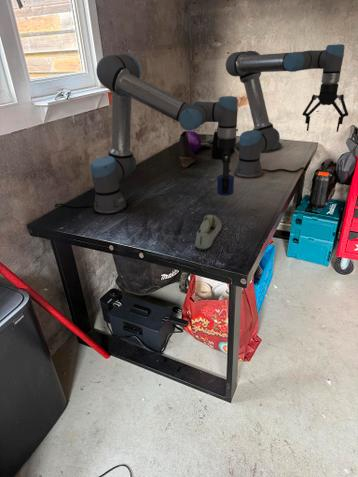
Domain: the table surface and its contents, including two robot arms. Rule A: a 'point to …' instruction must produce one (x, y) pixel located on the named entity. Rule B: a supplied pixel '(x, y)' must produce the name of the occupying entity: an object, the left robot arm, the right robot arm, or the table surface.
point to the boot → (186, 151)
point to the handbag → (215, 149)
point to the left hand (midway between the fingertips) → (225, 189)
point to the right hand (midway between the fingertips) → (322, 130)
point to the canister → (231, 185)
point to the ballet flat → (207, 232)
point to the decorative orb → (193, 141)
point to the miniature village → (265, 151)
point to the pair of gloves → (207, 141)
